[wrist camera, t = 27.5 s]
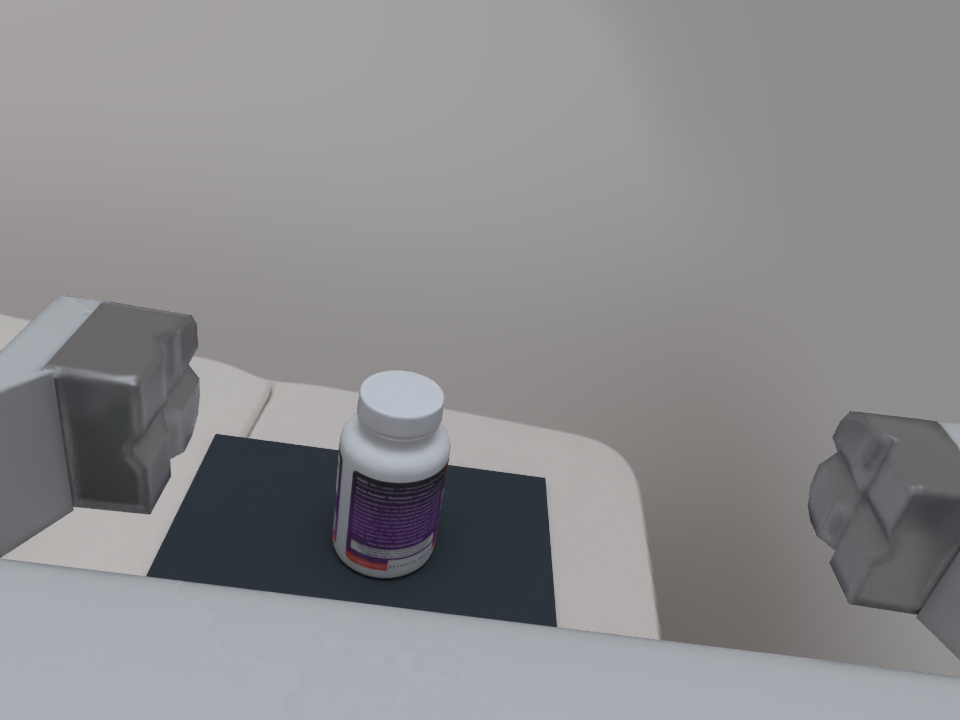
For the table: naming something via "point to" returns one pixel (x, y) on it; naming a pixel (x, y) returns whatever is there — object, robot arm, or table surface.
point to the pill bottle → (391, 475)
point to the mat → (309, 536)
